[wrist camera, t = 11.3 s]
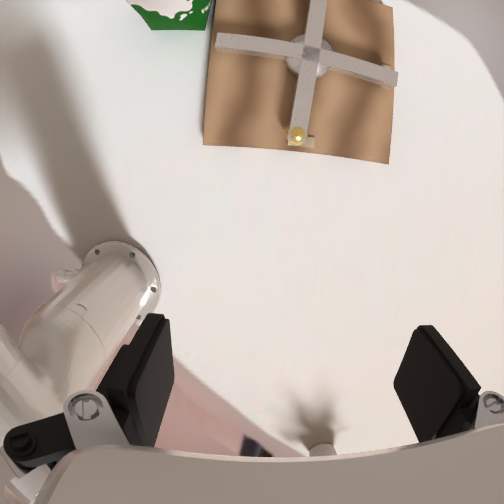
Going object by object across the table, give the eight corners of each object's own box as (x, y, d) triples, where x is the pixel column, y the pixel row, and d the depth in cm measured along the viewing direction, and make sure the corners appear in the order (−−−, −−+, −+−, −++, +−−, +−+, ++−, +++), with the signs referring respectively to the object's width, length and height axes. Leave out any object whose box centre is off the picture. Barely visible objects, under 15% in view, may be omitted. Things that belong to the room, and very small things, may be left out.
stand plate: (205, 145, 35) (202, 145, 33) (220, -11, 28) (218, -19, 25) (382, 163, 35) (389, 164, 33) (386, 12, 28) (393, 6, 26)
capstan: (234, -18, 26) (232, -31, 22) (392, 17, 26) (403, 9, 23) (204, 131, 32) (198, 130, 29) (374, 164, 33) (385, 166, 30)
